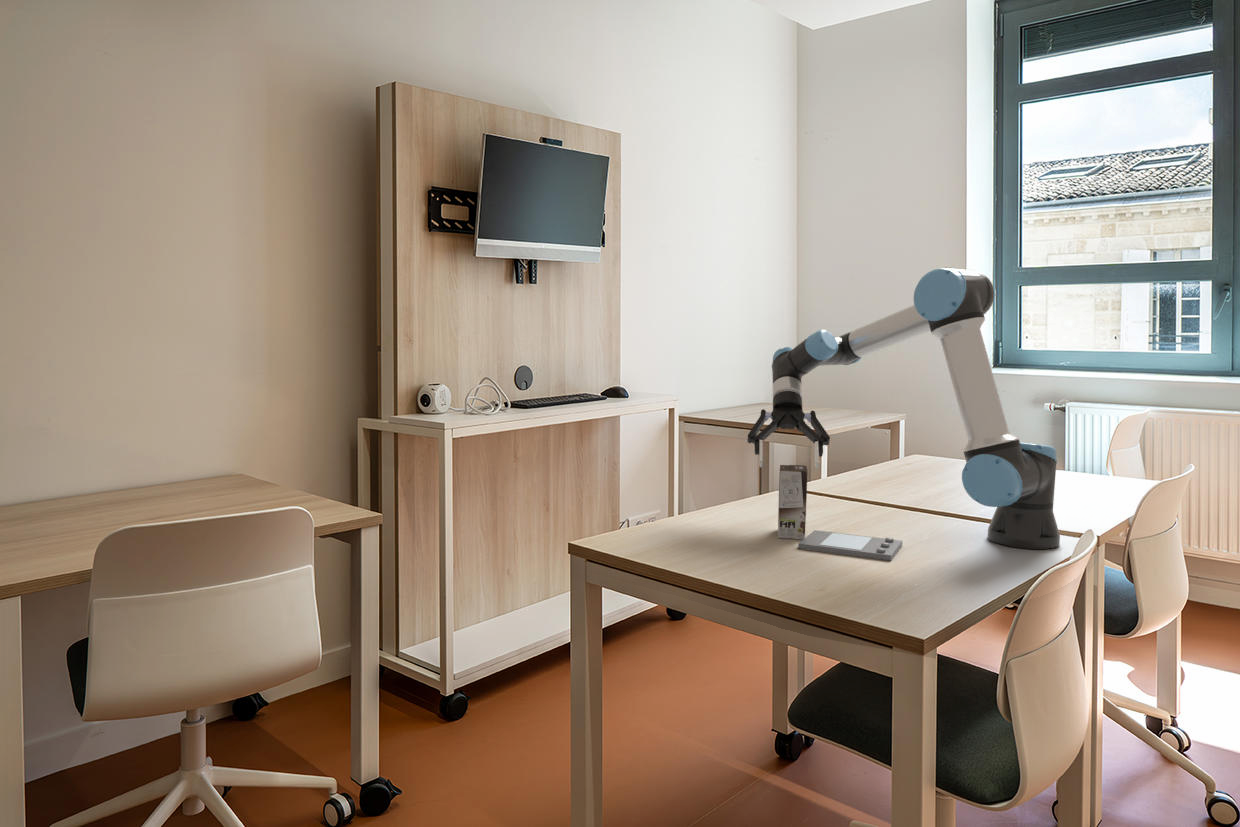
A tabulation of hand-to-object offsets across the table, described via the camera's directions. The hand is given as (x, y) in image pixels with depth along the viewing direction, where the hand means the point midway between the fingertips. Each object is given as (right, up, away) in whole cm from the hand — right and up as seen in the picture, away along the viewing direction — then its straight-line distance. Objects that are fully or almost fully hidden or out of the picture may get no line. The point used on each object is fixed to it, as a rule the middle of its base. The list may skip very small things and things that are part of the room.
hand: (788, 465), depth 210 cm
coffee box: (-1, -16, -7) cm, 18 cm away
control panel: (+10, -17, -18) cm, 27 cm away
